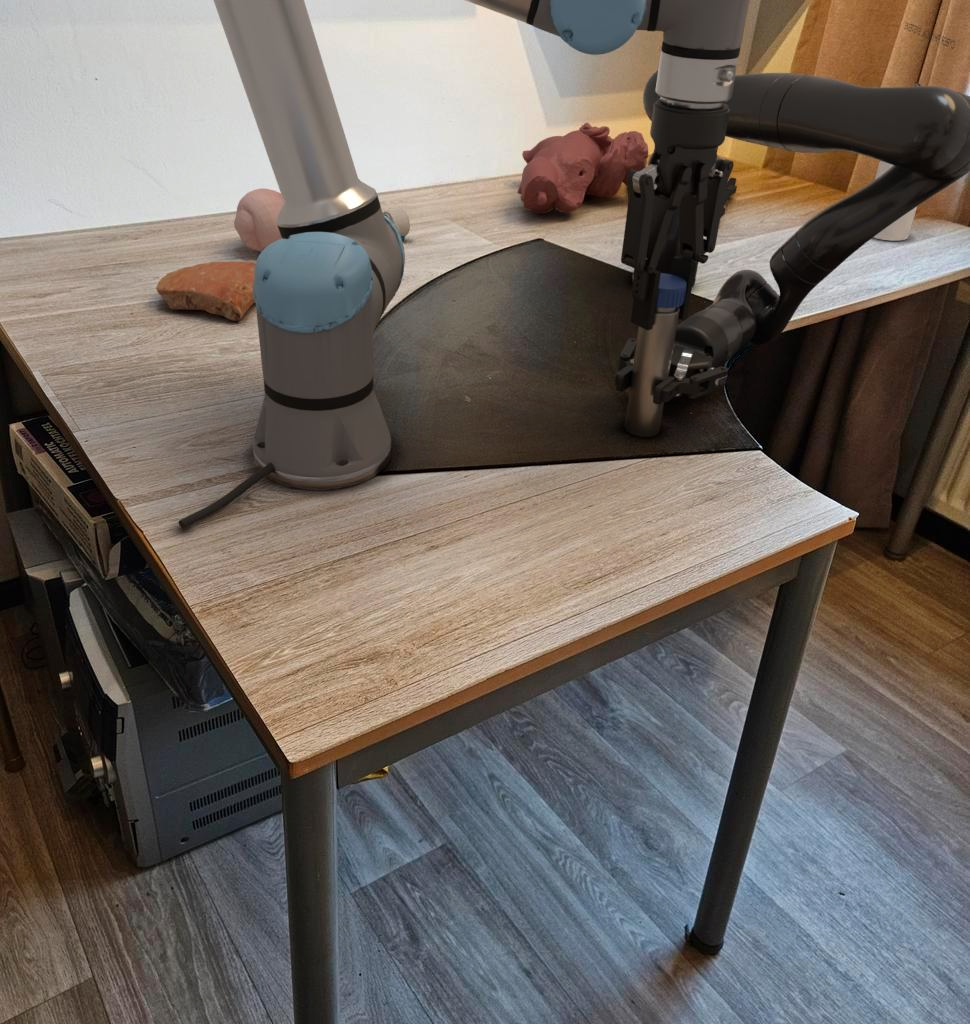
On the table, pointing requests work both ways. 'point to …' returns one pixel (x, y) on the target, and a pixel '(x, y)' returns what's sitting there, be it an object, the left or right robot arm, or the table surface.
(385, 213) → the electric motor
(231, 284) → the ceramic shard
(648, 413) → the grey metal cylinder
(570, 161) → the red clay animal figurine
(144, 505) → the table surface
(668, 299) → the lid
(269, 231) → the toy
